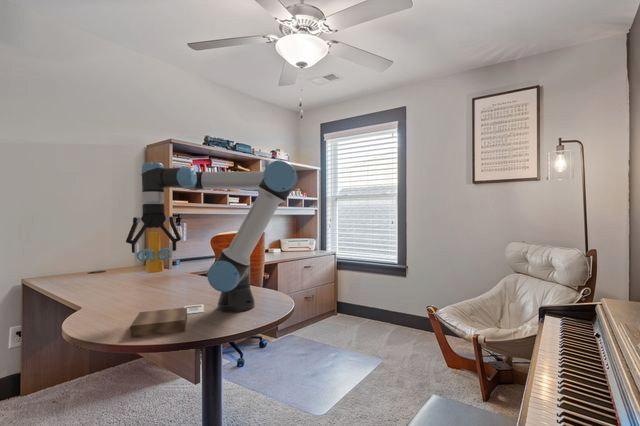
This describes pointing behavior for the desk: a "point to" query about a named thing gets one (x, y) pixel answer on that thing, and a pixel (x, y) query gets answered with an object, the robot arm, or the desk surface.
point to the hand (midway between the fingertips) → (154, 260)
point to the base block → (159, 322)
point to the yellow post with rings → (154, 254)
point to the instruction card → (195, 309)
